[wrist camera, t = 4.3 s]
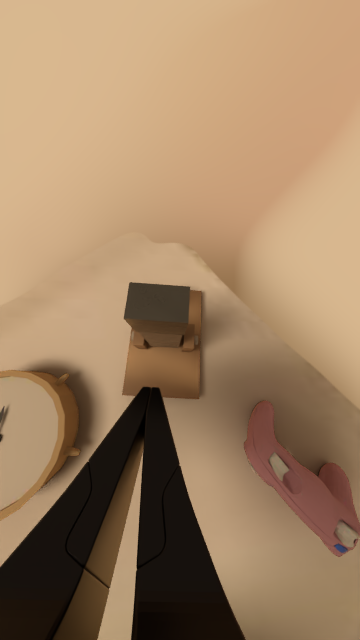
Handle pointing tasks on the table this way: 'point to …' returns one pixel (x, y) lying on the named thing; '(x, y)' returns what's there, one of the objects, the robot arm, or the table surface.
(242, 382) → the table surface
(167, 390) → the base
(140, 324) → the lever
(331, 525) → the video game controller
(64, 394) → the alarm clock
